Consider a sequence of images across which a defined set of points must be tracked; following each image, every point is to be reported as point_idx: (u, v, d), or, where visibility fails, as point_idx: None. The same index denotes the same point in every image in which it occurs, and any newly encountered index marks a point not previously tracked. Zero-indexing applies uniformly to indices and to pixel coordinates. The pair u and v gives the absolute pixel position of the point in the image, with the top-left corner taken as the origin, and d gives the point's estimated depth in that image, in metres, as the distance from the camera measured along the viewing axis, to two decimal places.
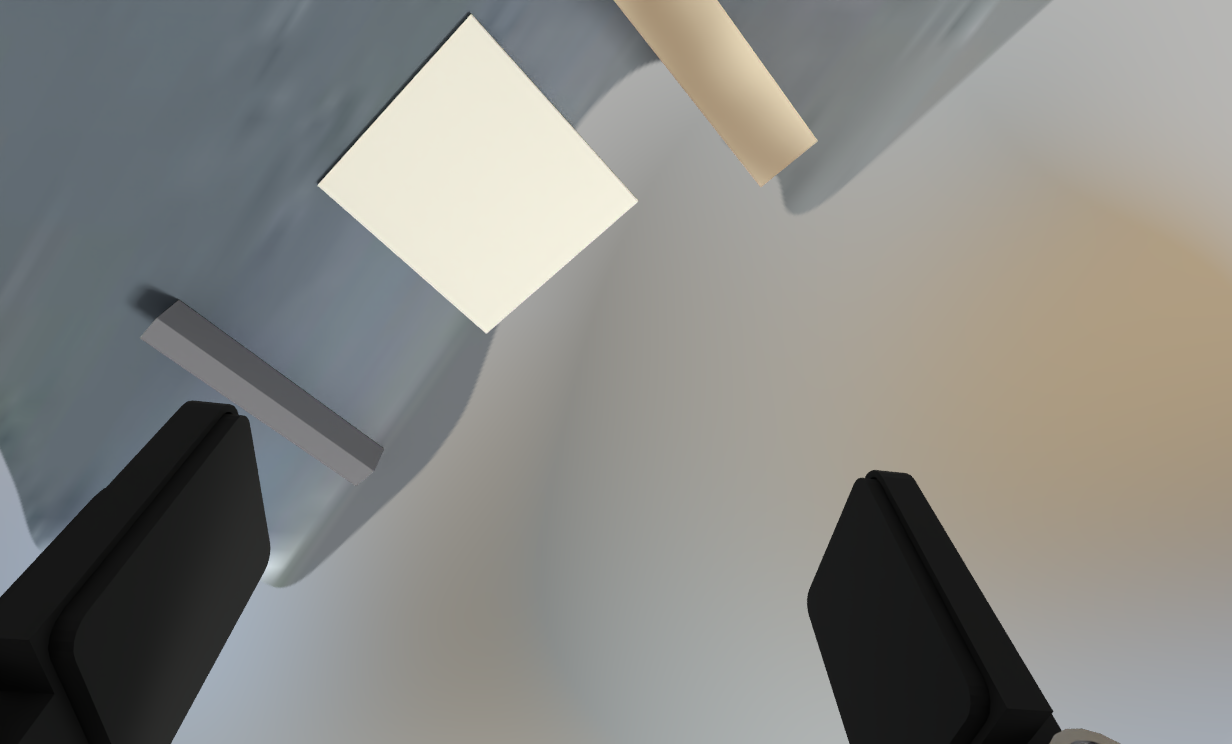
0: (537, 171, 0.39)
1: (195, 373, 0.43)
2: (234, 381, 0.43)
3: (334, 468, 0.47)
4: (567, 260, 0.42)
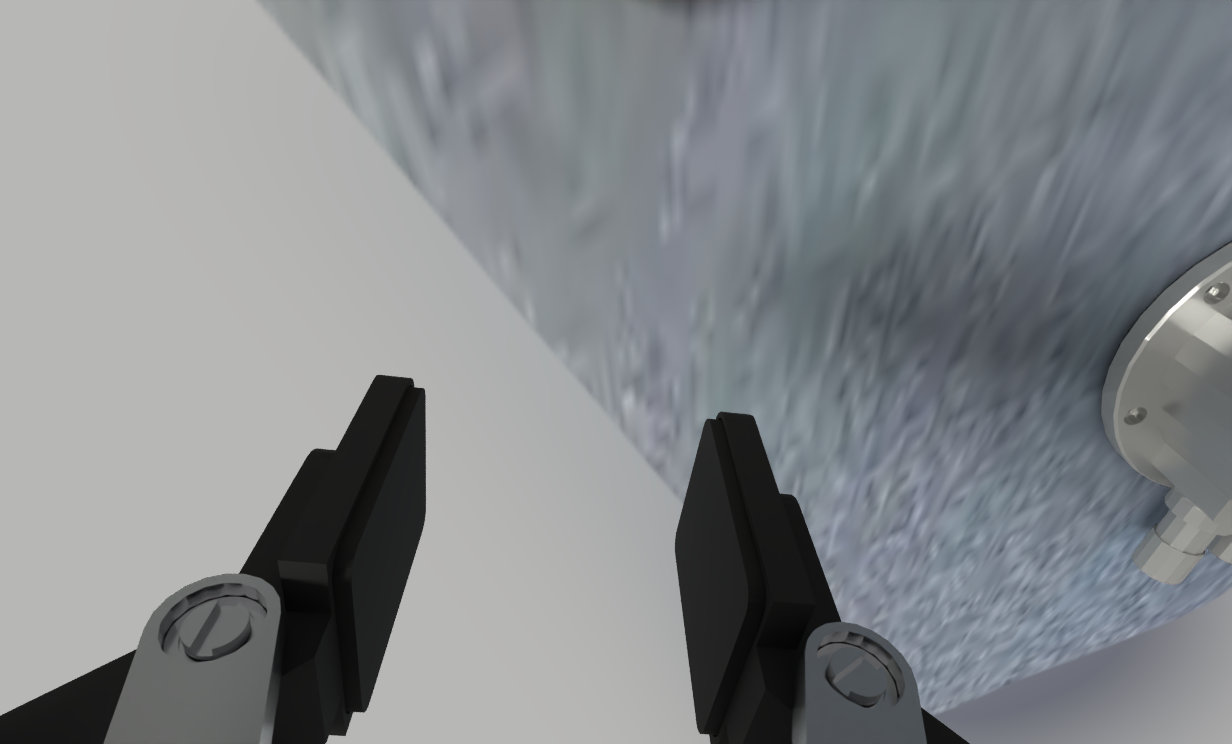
0: None
1: None
2: None
3: None
4: None
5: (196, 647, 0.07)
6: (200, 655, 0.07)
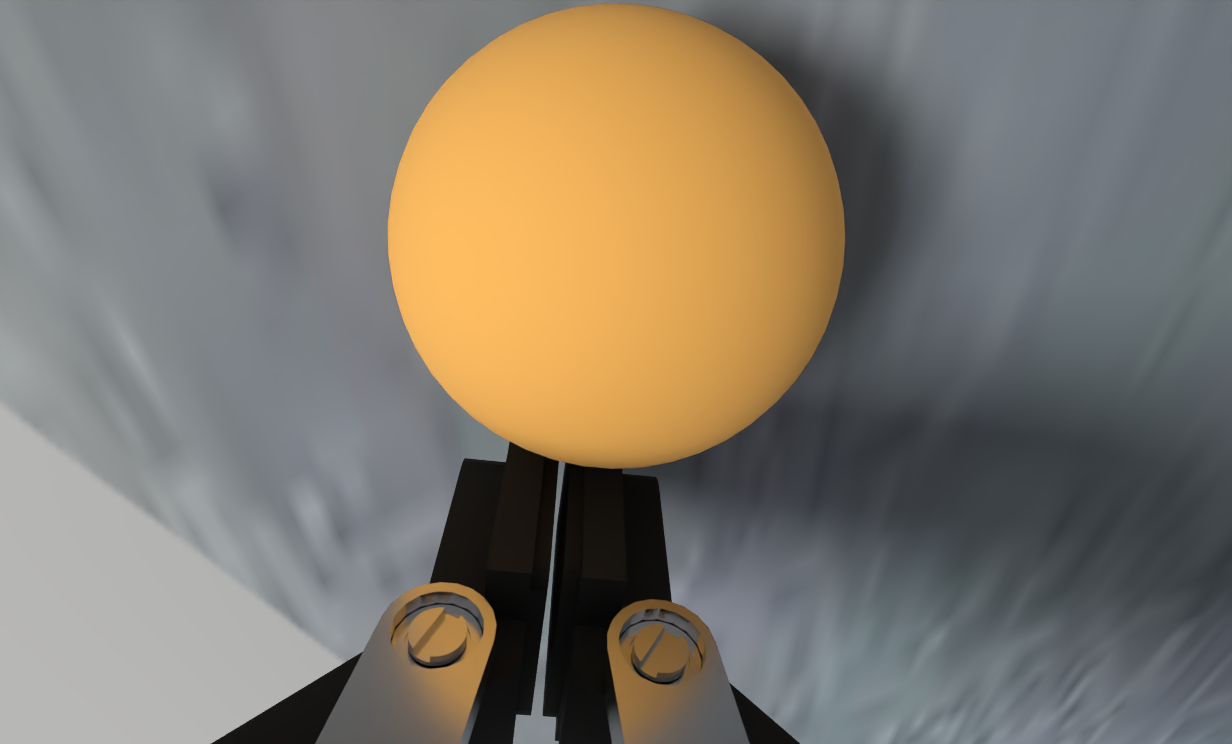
0: None
1: None
2: None
3: None
4: None
5: (418, 649, 0.07)
6: (419, 658, 0.07)
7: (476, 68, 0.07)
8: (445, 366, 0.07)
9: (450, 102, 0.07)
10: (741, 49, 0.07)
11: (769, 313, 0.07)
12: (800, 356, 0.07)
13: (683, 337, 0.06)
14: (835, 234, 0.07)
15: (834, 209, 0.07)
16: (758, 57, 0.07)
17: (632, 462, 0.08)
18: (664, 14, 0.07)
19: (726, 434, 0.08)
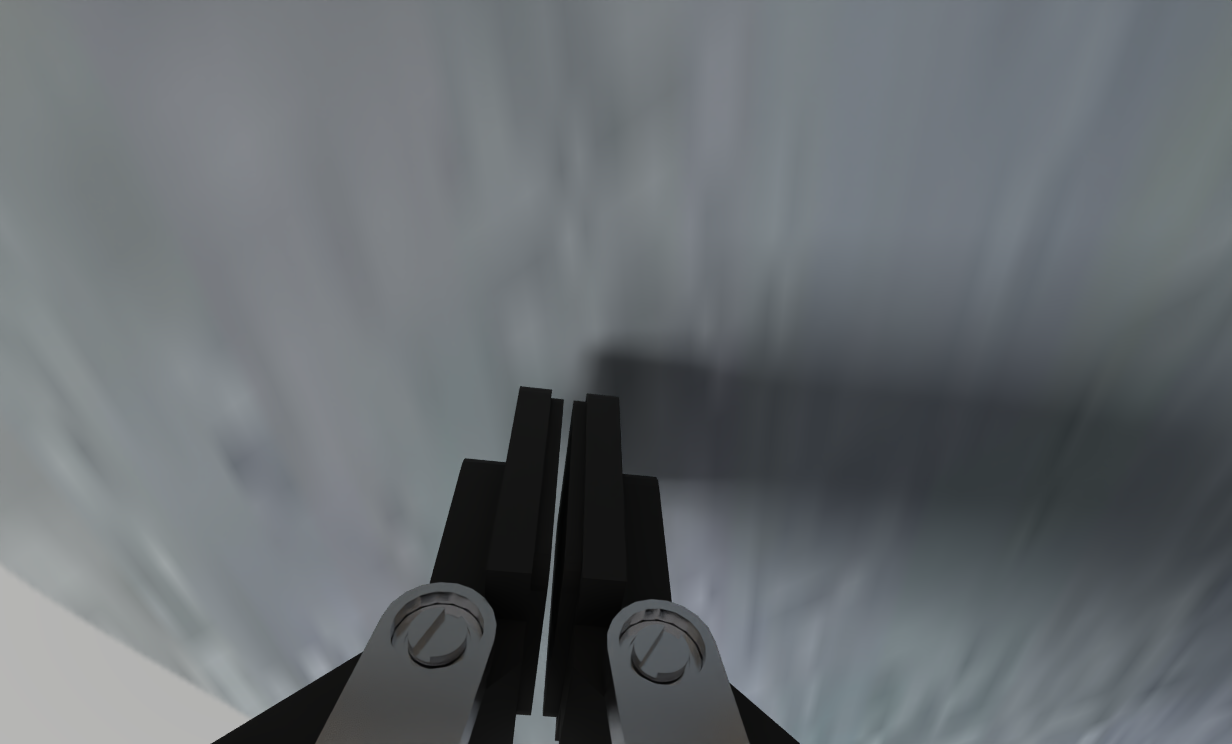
0: None
1: None
2: None
3: None
4: None
5: (418, 649, 0.07)
6: (419, 658, 0.07)
7: None
8: None
9: None
10: None
11: None
12: None
13: None
14: None
15: None
16: None
17: None
18: None
19: None
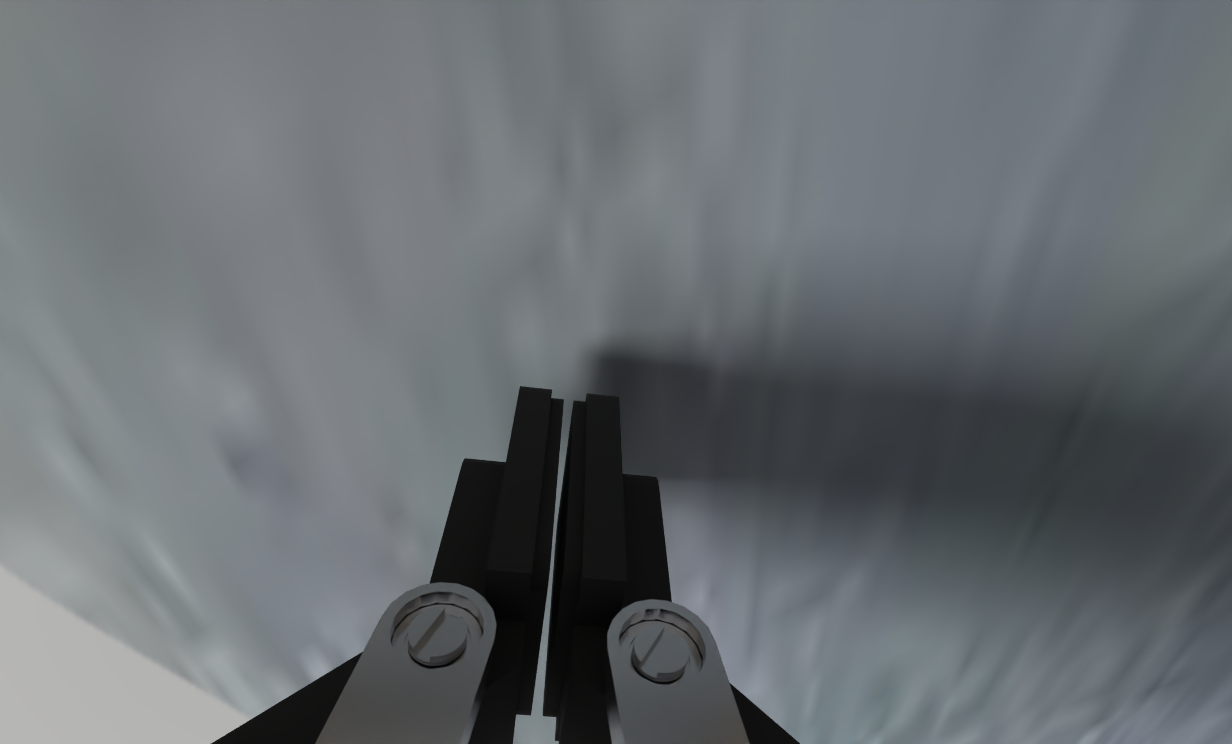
0: None
1: None
2: None
3: None
4: None
5: (418, 649, 0.07)
6: (419, 658, 0.07)
7: None
8: None
9: None
10: None
11: None
12: None
13: None
14: None
15: None
16: None
17: None
18: None
19: None
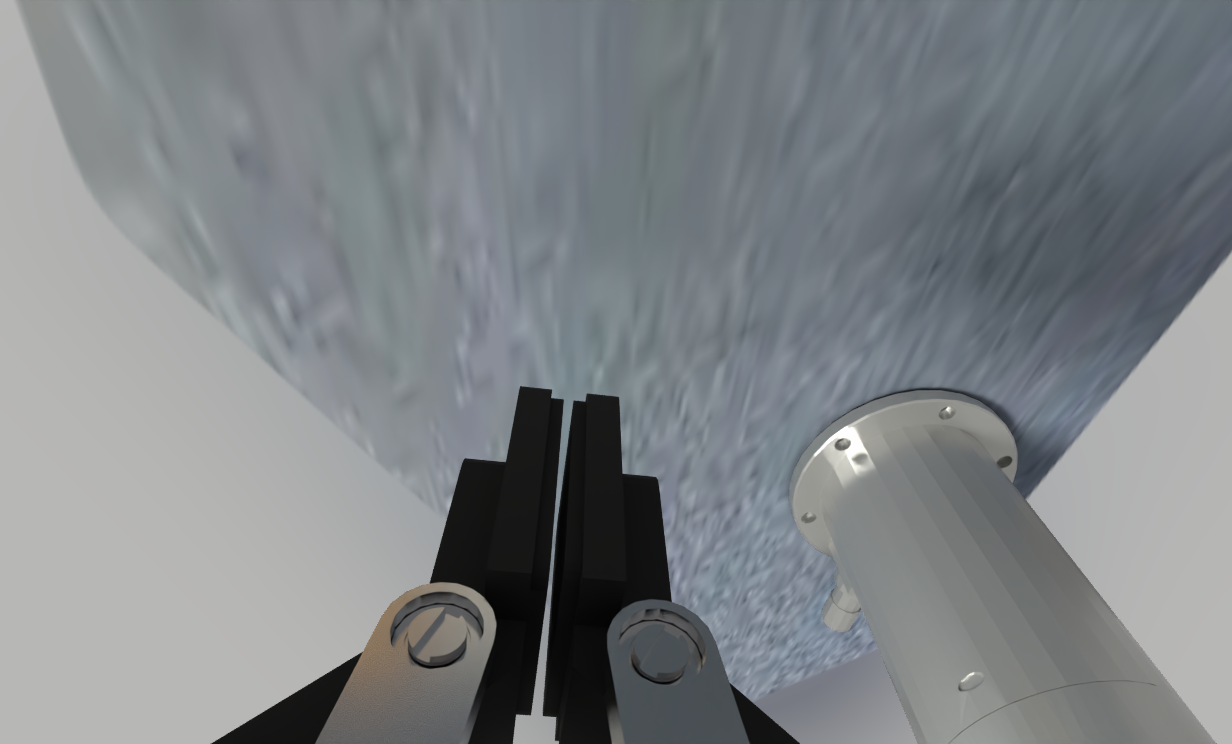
0: None
1: None
2: None
3: None
4: None
5: (418, 649, 0.07)
6: (419, 658, 0.07)
7: None
8: None
9: None
10: None
11: None
12: None
13: None
14: None
15: None
16: None
17: None
18: None
19: None
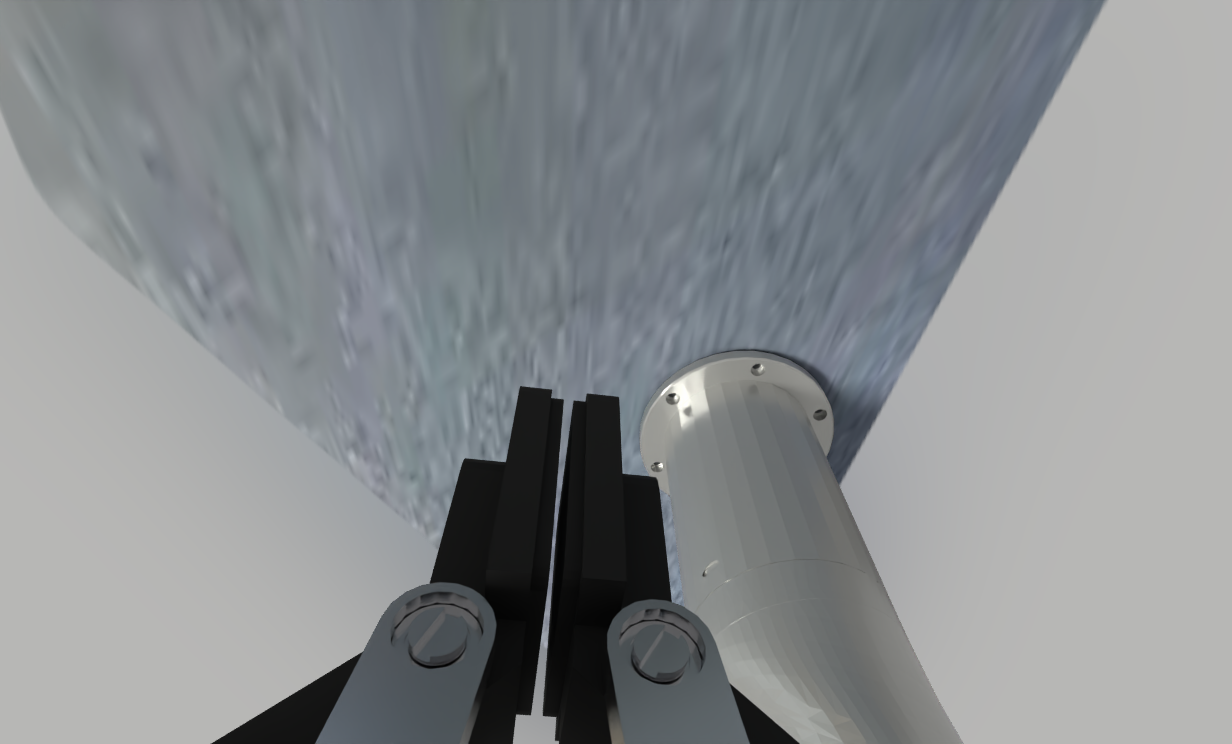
0: None
1: None
2: None
3: None
4: None
5: (418, 649, 0.07)
6: (419, 658, 0.07)
7: None
8: None
9: None
10: None
11: None
12: None
13: None
14: None
15: None
16: None
17: None
18: None
19: None
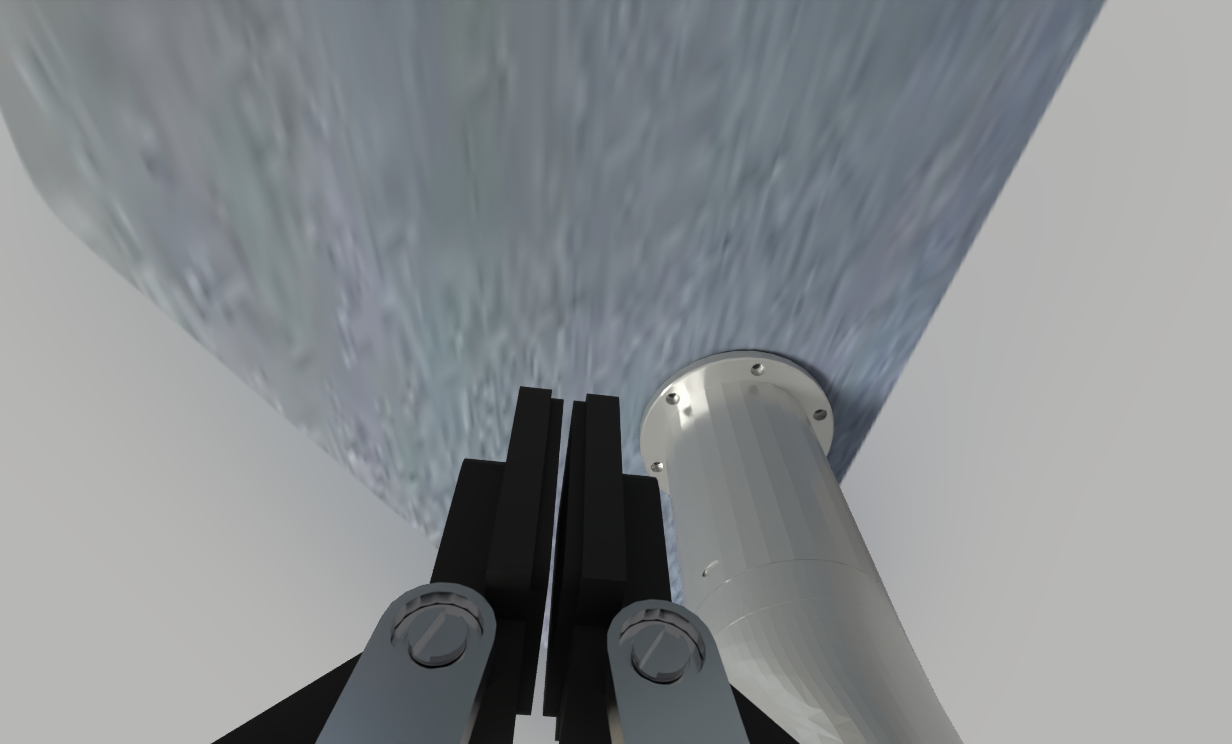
0: None
1: None
2: None
3: None
4: None
5: (418, 649, 0.07)
6: (420, 658, 0.07)
7: None
8: None
9: None
10: None
11: None
12: None
13: None
14: None
15: None
16: None
17: None
18: None
19: None
